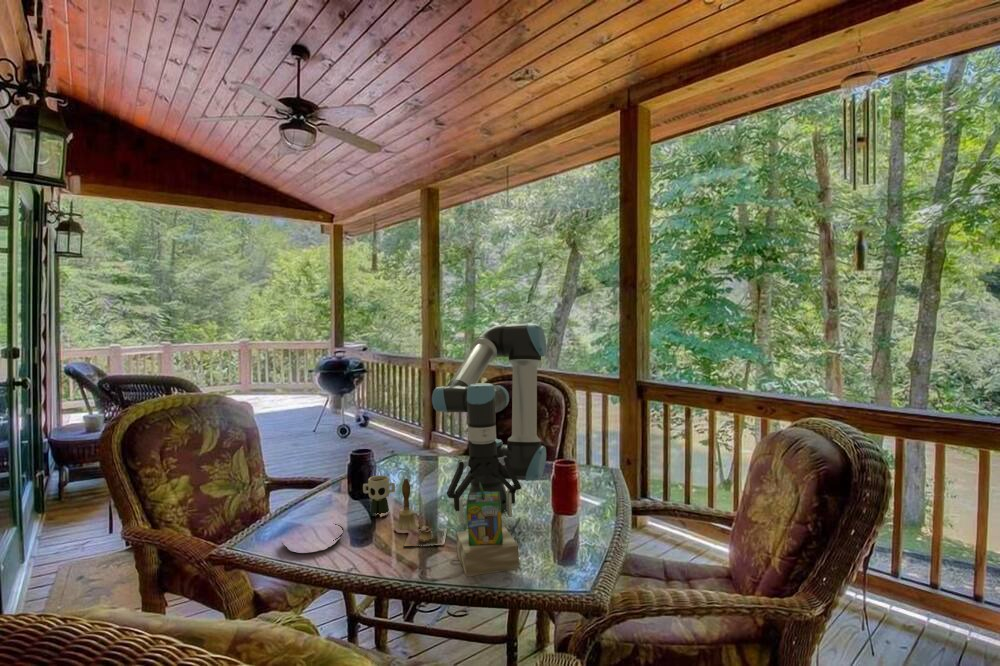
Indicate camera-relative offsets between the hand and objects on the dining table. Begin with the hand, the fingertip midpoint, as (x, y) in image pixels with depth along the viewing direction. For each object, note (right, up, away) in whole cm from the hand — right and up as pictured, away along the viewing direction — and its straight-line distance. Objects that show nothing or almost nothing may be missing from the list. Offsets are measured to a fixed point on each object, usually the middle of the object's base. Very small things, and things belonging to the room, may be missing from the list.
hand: (485, 519), depth 138 cm
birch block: (0, -11, 0) cm, 11 cm away
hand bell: (-26, -12, +24) cm, 37 cm away
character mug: (-37, -13, +37) cm, 54 cm away
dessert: (-18, -13, +16) cm, 27 cm away
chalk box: (0, -6, 0) cm, 6 cm away
